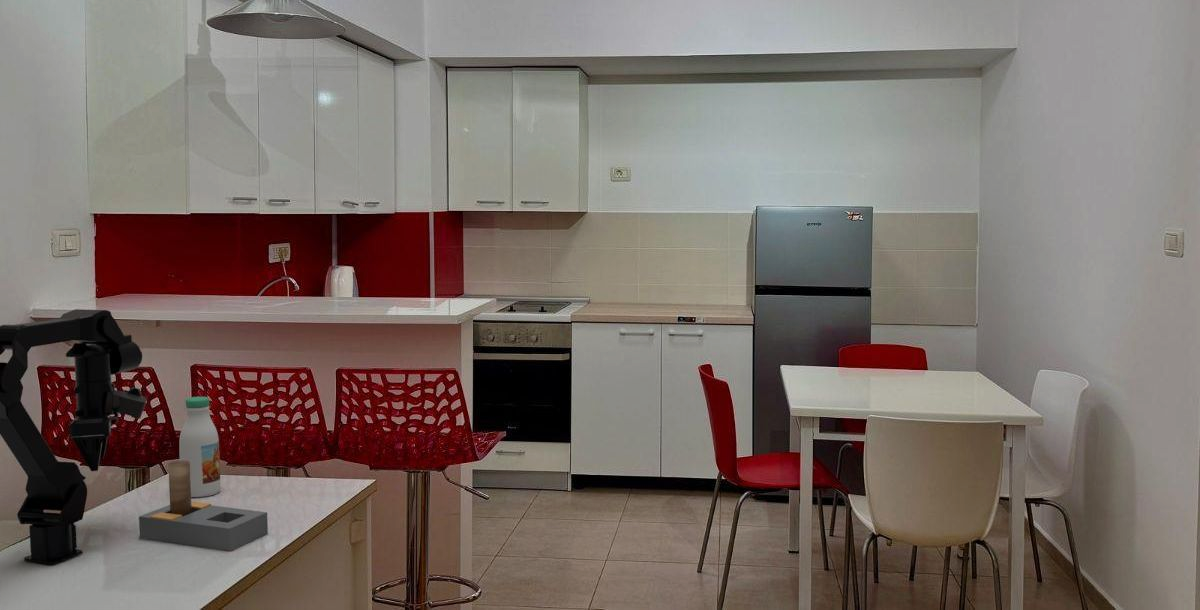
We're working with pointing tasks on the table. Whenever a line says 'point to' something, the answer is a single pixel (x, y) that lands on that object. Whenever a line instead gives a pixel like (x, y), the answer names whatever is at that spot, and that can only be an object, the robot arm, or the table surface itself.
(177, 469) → the walnut peg
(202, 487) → the milk bottle
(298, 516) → the table surface
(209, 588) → the table surface
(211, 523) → the grey peg socket base
